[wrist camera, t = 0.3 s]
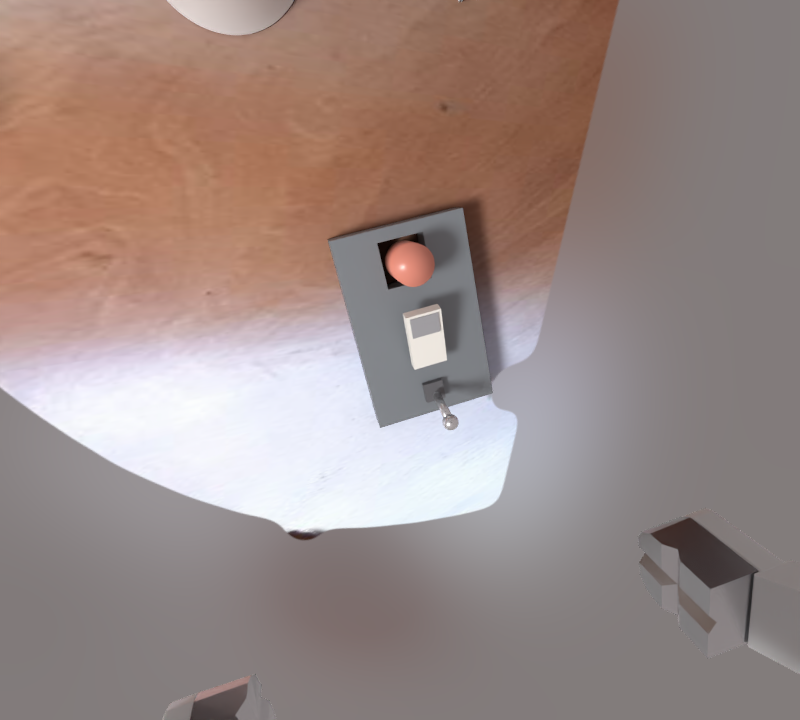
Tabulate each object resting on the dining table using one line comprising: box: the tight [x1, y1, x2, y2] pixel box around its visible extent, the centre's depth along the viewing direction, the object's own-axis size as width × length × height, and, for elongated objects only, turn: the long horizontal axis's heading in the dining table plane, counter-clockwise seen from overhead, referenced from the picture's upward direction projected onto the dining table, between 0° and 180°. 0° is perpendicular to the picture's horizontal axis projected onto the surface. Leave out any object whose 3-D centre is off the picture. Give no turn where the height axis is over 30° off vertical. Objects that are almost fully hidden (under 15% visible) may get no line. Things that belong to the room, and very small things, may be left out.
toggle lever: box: [433, 391, 459, 430], centre depth 52 cm, size 2×2×6 cm
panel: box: [328, 208, 493, 428], centre depth 53 cm, size 23×15×4 cm, turn 13°
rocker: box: [403, 304, 447, 370], centre depth 51 cm, size 7×4×1 cm, turn 13°
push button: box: [385, 240, 435, 287], centre depth 48 cm, size 4×4×4 cm
